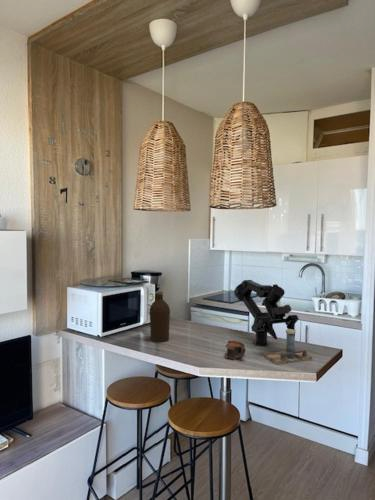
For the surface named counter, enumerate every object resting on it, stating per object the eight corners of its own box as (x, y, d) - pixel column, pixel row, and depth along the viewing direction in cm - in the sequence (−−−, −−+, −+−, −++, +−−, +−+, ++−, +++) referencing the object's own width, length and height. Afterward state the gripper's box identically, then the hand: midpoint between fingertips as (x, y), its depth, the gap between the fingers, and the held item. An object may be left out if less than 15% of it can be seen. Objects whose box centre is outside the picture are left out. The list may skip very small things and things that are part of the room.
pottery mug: (218, 357, 165) (222, 339, 168) (234, 363, 169) (238, 346, 172) (236, 358, 155) (239, 339, 159) (252, 364, 159) (255, 345, 163)
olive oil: (157, 344, 184) (156, 294, 183) (145, 339, 192) (145, 291, 191) (174, 340, 190) (174, 292, 189) (162, 335, 199) (162, 289, 197)
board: (264, 357, 164) (264, 347, 164) (298, 352, 170) (298, 343, 169) (276, 364, 154) (276, 354, 154) (312, 359, 160) (312, 349, 160)
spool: (283, 359, 161) (283, 329, 160) (290, 357, 163) (290, 328, 162) (290, 362, 157) (291, 332, 157) (297, 360, 160) (297, 330, 159)
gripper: (261, 299, 165) (274, 330, 155) (296, 297, 171) (311, 327, 161) (252, 313, 172) (264, 343, 163) (286, 310, 178) (300, 339, 169)
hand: (285, 338), depth 164 cm, fingers open, 9 cm apart
